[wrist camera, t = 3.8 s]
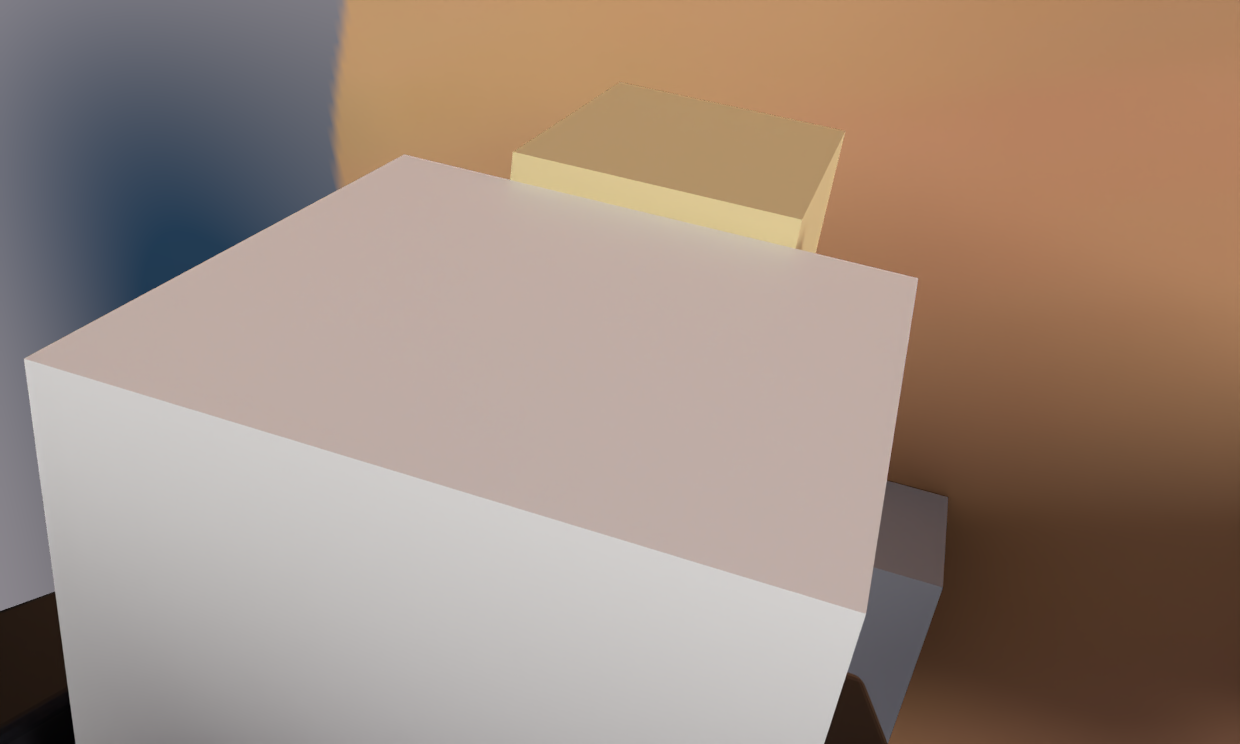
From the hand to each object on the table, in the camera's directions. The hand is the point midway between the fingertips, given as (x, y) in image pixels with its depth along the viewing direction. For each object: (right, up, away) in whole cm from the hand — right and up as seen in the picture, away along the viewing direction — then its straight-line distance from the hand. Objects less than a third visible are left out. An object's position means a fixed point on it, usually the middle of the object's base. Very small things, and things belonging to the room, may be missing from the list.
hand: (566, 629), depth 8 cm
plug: (+1, 0, +3) cm, 3 cm away
